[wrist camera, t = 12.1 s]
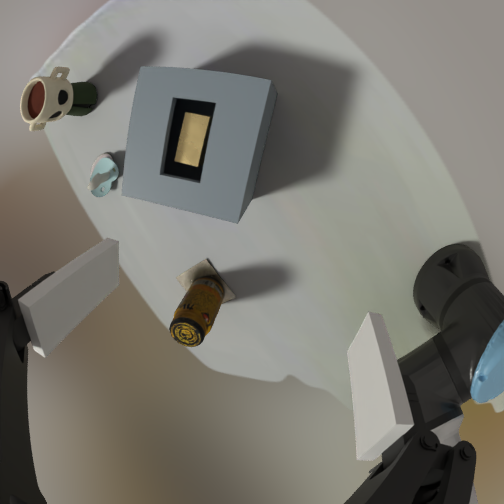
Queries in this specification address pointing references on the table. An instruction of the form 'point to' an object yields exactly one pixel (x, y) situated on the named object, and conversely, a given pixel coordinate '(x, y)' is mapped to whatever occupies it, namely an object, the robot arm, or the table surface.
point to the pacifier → (102, 175)
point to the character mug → (55, 99)
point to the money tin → (219, 143)
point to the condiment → (198, 304)
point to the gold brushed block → (193, 139)
